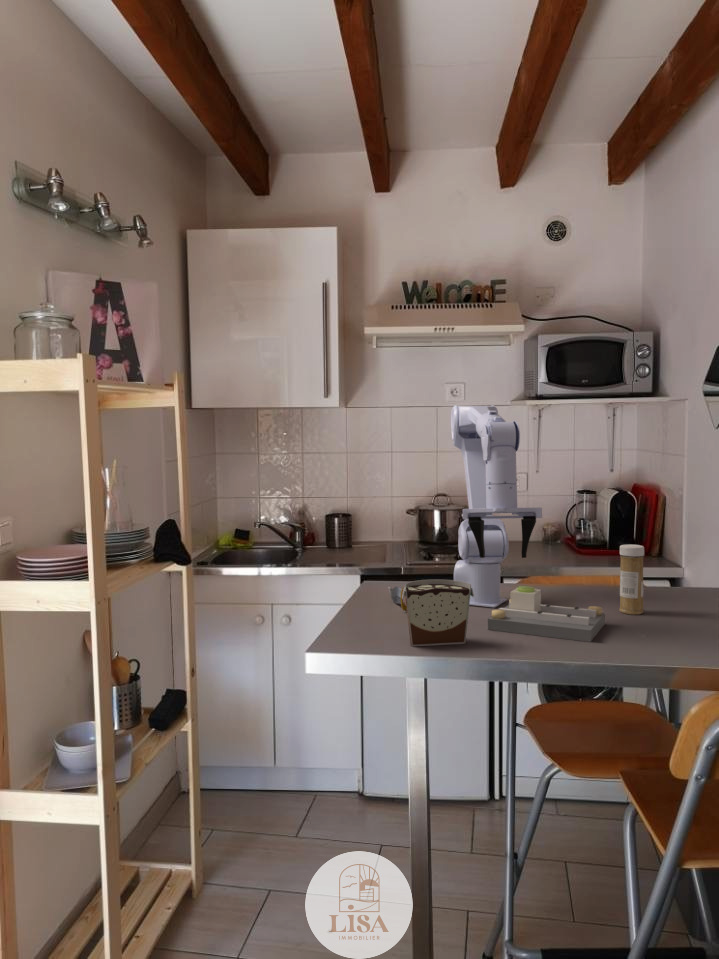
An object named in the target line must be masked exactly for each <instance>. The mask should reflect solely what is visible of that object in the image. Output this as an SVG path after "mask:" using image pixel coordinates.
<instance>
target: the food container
mask: <svg viewBox="0 0 719 959" xmlns="http://www.w3.org/2000/svg"><path fill="white" fill-rule="evenodd" d="M403 588H404V589H403V594H402V599H404V595H405V596H406V606H407V609H406V614H407V623H408V631H409V634H408V635H409V641H410V642H409V643H410V646H411V647H424V646H425V647H426V646H429V647H430V646H441V645H442V646H443V645H446V646H447V645H463V644H466V642H467V641H466V640H467V630H468V624H469V623H468V622H469V621H468V620H469V611H470V605H469V604H470V595H471V596H474V594H473V588H471V584H469V583H466V582H461V581H454V579H421V580H419V579H418V580H414V581H409V582H407V583H406V584H404V587H403Z"/></svg>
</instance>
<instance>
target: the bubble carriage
mask: <svg viewBox="0 0 719 959" xmlns="http://www.w3.org/2000/svg"><path fill="white" fill-rule="evenodd" d="M509 599H510V609H515V610H525V611H534V612H538V611H541V604H542V589H537V588H535V587H534V586H531V585H530V586H529V585H519V586H517V587H516V588H515V589H513V590H512V591H510V598H509Z"/></svg>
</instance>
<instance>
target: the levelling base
mask: <svg viewBox="0 0 719 959" xmlns="http://www.w3.org/2000/svg"><path fill="white" fill-rule="evenodd" d="M508 600H509V602H508V605H506V606H504V607H500V608H498V609H492V610H491V616H490V617H489V618H487V631H495V632H496V631H497V632H504V633H513V634H522V635H530V636H539V637H546V638H555V639H564V640H571V641H579V642H580V641H581V642H589V643H591V642H592V641H593V640H594V638H595V637H596V636H597V634H598V633H599V632H600V631H601V629H602V628H604V626H605V624H606V613H604V612H603V607H601V606H595V605H593V606H590V605H589V606H588V608H583V607H582V608H581V607H580V606H575V607H573V606H572V607H571V606H570V607H569V606H560V605H553V604H552V605H551V604H550V603H546V604H542V603H541V611H538V612H534V611H525V610H515V609H510V598H509V599H508Z"/></svg>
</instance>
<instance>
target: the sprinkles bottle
mask: <svg viewBox="0 0 719 959" xmlns="http://www.w3.org/2000/svg"><path fill="white" fill-rule="evenodd" d="M619 556H620V564H619V565H620V568H619V598H620V599H619V600H620V601H619V602H620V603H619V605H620V606H619V612H621V613H623V614H625V615H632V616H633V615H635V616H636V615H641V614H644V556H645V547H644V545H640V544H630V543H629V544H621V545H620V546H619Z"/></svg>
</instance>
